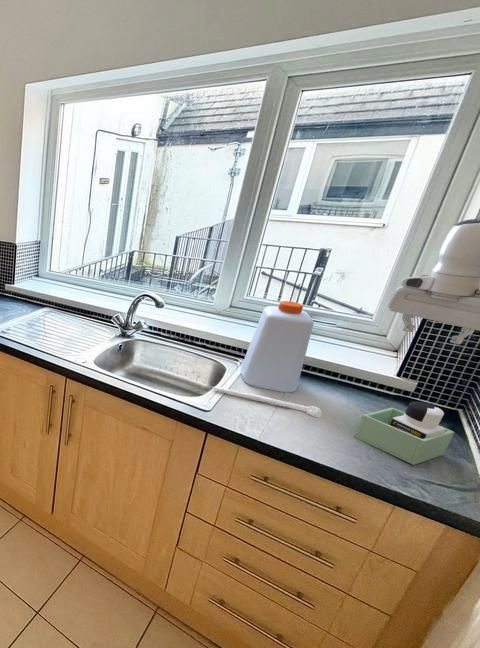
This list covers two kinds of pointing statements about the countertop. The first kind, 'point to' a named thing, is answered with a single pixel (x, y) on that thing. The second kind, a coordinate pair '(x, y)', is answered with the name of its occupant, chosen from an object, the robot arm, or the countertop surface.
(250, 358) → the plastic bottle
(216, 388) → the white knobbed stick
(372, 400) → the countertop surface
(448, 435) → the bin
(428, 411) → the medicine bottle
